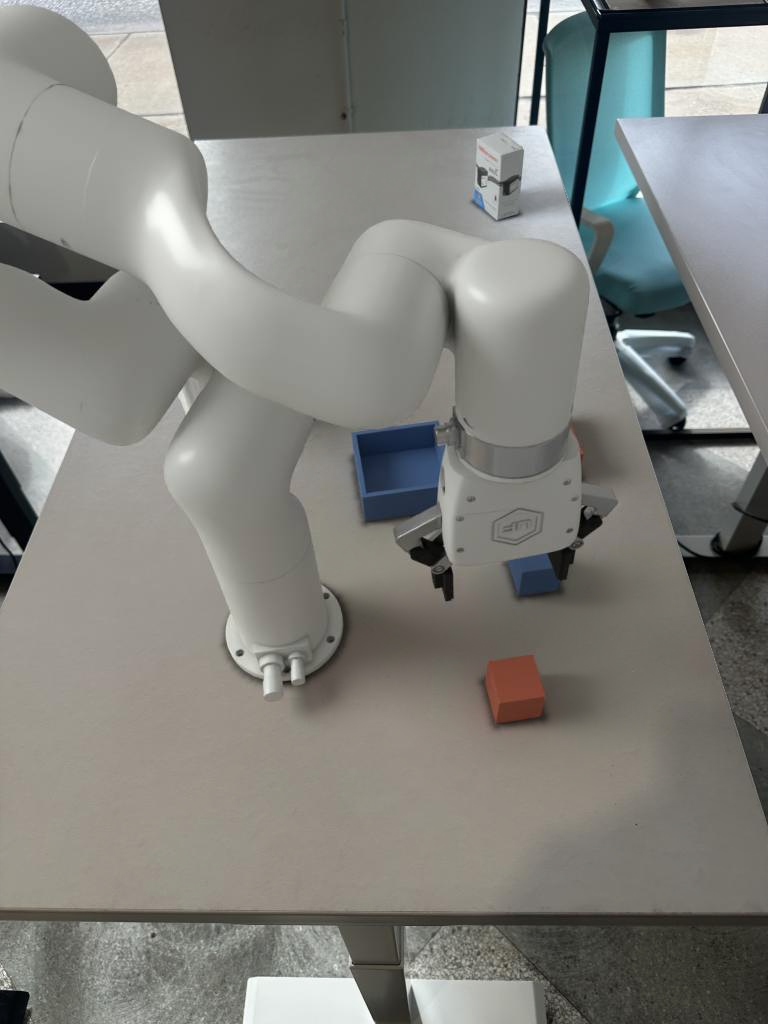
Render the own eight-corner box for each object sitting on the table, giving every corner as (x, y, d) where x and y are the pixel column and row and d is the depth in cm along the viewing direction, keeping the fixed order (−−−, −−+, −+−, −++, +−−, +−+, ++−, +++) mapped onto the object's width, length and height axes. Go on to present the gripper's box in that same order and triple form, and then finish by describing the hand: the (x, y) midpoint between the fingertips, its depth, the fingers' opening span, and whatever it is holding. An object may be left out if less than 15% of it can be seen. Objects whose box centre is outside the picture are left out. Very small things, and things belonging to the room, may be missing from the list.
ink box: (472, 201, 138) (475, 136, 129) (495, 195, 139) (499, 130, 130) (496, 221, 132) (500, 155, 123) (519, 214, 134) (525, 148, 125)
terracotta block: (540, 717, 71) (546, 696, 68) (495, 724, 71) (498, 703, 68) (528, 675, 74) (533, 653, 71) (484, 682, 74) (487, 660, 70)
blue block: (558, 590, 81) (563, 566, 77) (518, 596, 80) (522, 572, 77) (546, 558, 83) (551, 533, 80) (508, 563, 83) (511, 539, 80)
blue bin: (455, 509, 89) (456, 484, 85) (364, 522, 88) (362, 497, 85) (438, 445, 96) (438, 420, 93) (354, 457, 95) (351, 432, 92)
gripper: (393, 491, 46) (409, 633, 59) (659, 445, 47) (616, 595, 60) (376, 413, 51) (393, 560, 64) (616, 373, 52) (585, 526, 65)
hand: (501, 577), depth 62 cm, fingers open, 9 cm apart
